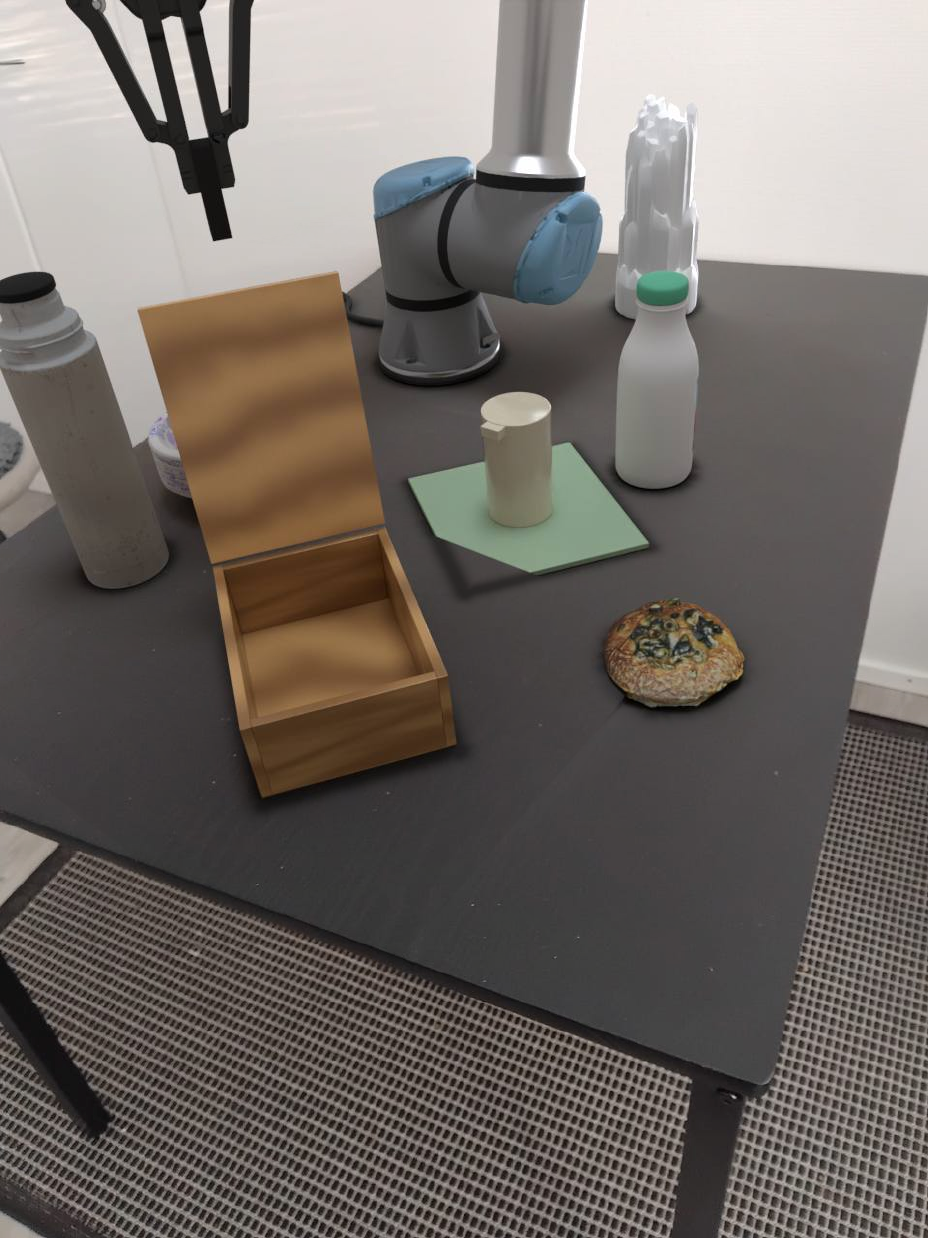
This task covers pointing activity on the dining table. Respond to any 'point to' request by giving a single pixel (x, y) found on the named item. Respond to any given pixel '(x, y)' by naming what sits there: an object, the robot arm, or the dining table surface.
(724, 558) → the dining table surface
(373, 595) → the chest
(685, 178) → the decorative vase
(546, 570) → the mat
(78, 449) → the thermos bottle
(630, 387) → the milk bottle
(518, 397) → the jug
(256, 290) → the chest lid
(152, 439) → the paper bowls
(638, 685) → the bread roll
